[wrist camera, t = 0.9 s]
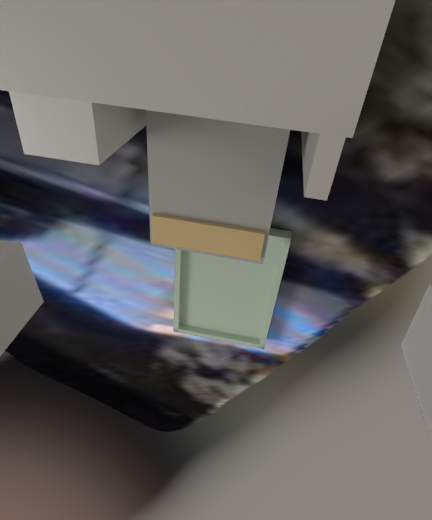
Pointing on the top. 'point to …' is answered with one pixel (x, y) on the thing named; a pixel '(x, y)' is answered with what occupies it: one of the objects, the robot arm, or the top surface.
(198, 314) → the tray
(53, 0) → the printer bay
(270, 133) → the upright pale grey block
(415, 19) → the top surface
